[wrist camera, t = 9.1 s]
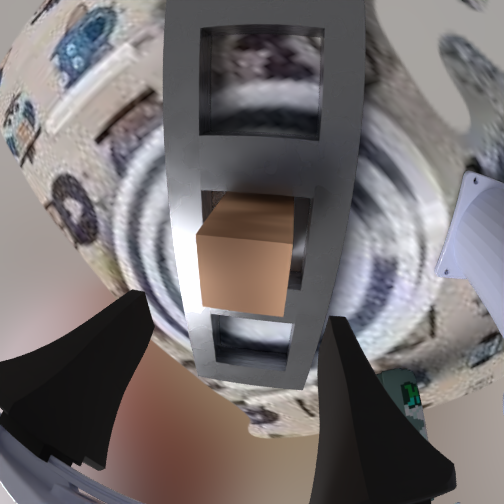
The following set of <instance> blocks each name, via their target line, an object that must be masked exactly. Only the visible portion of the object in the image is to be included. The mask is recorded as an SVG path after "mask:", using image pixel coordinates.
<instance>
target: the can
mask: <svg viewBox="0 0 504 504" xmlns="http://www.w3.org/2000/svg"><path fill="white" fill-rule="evenodd" d="M377 377H378V378H379V380H380V382H381V383H382V385H383V386H384V388H385V390H386V391H387V392H388V394H389V395H390V397H391V398H392V400H393V401H394V402H395V404H396V405H397V406H398V408H399V409H400V410H401V412H402V413H403V414H404V415H405V417H406V418H407V419H408V420H409V421H410V422H411V424H412V425H413V426H414V427H415V428H416V429H417V430H418V431H419V433H420V434H421V435H422V436H423V437H424V438H425V439H426V440H427V441H428V437H427V430H426V424H425V419H424V414H423V409H422V404H421V399H420V395H419V390H418V386H417V382H416V378H415V375H413V371H412V372H410V370H408V371H407V369H403V370H401V368H399V369H394V370H389V371H384V372H382V374H378V375H377ZM433 500H434V498H432V499H431V501H433Z"/></svg>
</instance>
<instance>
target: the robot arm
mask: <svg viewBox="0 0 504 504" xmlns="http://www.w3.org/2000/svg"><path fill="white" fill-rule="evenodd" d="M475 177H476V181H475V182H474V178H475ZM446 269H447V271H446V272H445V270H446ZM435 273H436V275H437V276H438V277H447V278H459V279H468V281H469V282H470V284H471V285H472V287H473V288H474V290H475V291H476V293H477V294H478V296H479V297H480V299H481V300H482V302H483V303H484V305H485V307H486V308H487V310H488V312H489V313H490V315H491V317H492V318H493V320H494V322H495V324H496V325H497V327H498V329H499V331H500V333H501V334H502V336H503V338H504V183H503V182H500V181H498V180H495V179H492V178H490V177H487V176H484V175H482V174H479V173H476V172H473V171H470V170H468V171H466V172H465V173H464V176H463V180H462V184H461V189H460V193H459V197H458V201H457V204H456V208H455V212H454V215H453V218H452V222H451V225H450V228H449V231H448V234H447V238H446V240H445V243H444V246H443V249H442V252H441V255H440V257H439V260H438V263H437V265H436V268H435ZM154 327H155V326H154V323H153V320H152V316H151V313H150V310H149V306H148V302H147V299H146V295H145V292H143V291H138V290H131V291H129V292H128V293H126V294H125V295H123V296H122V297H120V298H119V299H117V300H116V301H115V302H113V303H112V304H110V305H109V306H108V307H106V308H105V309H103V310H102V311H101V312H99V313H98V314H96V315H95V316H94V317H92V318H91V319H89V320H88V321H86V322H85V323H83V324H82V325H80V326H79V327H77V328H76V329H74V330H73V331H71V332H69V333H68V334H66V335H65V336H63V337H61V338H59V339H57V340H56V341H54V342H52V343H50V344H48V345H45V346H43V347H41V348H39V349H37V350H35V351H32V352H30V353H27V354H25V355H22V356H19V357H16V358H13V359H9V360H5V361H1V362H0V408H1V409H2V410H3V412H2V414H1V413H0V483H1V484H2V486H3V487H4V488H5V490H6V491H7V492H8V494H9V495H10V496H11V498H12V499H13V500H14V501H15V503H16V504H105V503H107V504H144V503H142V502H139V501H137V500H134V499H132V498H129V497H127V496H125V495H123V494H120V493H118V492H116V491H114V490H112V489H110V488H108V487H106V486H104V485H101V484H100V483H98V482H96V481H94V480H92V479H90V478H89V477H87V476H85V475H83V474H82V473H80V472H78V471H77V470H75V469H73V468H72V467H71V465H72V463H75V464H77V465H78V466H81V464H82V462H83V463H85V464H87V465H89V466H91V467H92V468H94V469H96V470H98V471H99V470H103V469H105V466H106V458H107V452H108V446H109V441H110V437H111V432H112V428H113V424H114V421H115V418H116V414H117V411H118V408H119V405H120V403H121V400H122V397H123V394H124V392H125V390H126V387H127V386H128V384H129V382H130V380H131V378H132V376H133V374H134V372H135V370H136V368H137V366H138V364H139V362H140V360H141V358H142V357H143V355H144V353H145V350H146V348H147V346H148V344H149V341H150V339H151V336H152V333H153V330H154ZM317 376H318V395H319V417H320V433H319V444H318V454H317V462H316V469H315V476H314V482H313V488H312V493H311V498H310V503H309V504H431V499H432V498H435V497H437V496H440V495H443V494H445V493H447V492H450V491H452V490H454V489H455V488H456V486H457V485H456V473H455V467H454V464H453V463H452V462H451V461H450V460H449V459H447V458H446V457H445V456H444V455H443V454H441V453H440V452H439V451H438V450H436V449H435V448H434V447H433V446H432V445H431V444H430V443H429V442H428V441H427V440H426V439H425V438H424V437H423V436H422V435H421V434H420V433H419V431H418V430H417V429H416V428H415V427H414V426H413V425H412V424H411V422H410V421H409V420H408V419H407V418H406V417H405V415H404V414H403V413H402V412H401V410H400V409H399V408H398V406H397V405H396V404H395V402H394V401H393V400H392V398H391V397H390V395H389V394H388V392H387V391H386V390H385V388H384V386H383V385H382V383H381V382H380V380H379V378H378V377H377V375H376V374H375V372H374V370H373V369H372V367H371V365H370V363H369V361H368V360H367V358H366V356H365V354H364V352H363V351H362V349H361V347H360V345H359V343H358V341H357V339H356V337H355V335H354V333H353V331H352V329H351V327H350V325H349V322H348V320H347V319H346V317H340V316H329V318H328V322H327V325H326V328H325V332H324V335H323V338H322V341H321V345H320V348H319V353H318V373H317ZM503 413H504V395H503ZM78 488H80V489H81V490H83V491H85V492H87V493H88V494H90V495H92V496H94V497H96V498H97V499H99V500H101V501H103V502H105V503H103V502H101V501H99V500H97V499H95V498H92V497H90V496H88V495H85V494H83V493H81V492H79V490H78ZM454 504H460V502H457V503H454Z"/></svg>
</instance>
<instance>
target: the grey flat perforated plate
mask: <svg viewBox="0 0 504 504" xmlns="http://www.w3.org/2000/svg"><path fill="white" fill-rule="evenodd" d="M234 34H286V35H301V36H312V37H321V60H320V87H319V106H318V122H317V135H316V137H312V136H302V135H291V134H278V133H260V132H210V89H211V44H212V36H219V35H234ZM364 82H365V5H364V0H167V2H166V14H165V29H164V49H163V122H164V145H165V162H166V175H167V187H168V198H169V208H170V217H171V226H172V234H173V242H174V249H175V257H176V264H177V270H178V277H179V283H180V289H181V295H182V301H183V306H184V312H185V317H186V322H187V327H188V332H189V337H190V342H191V347H192V351H193V356H194V360H195V365H196V369H197V373H198V376H201V377H206V378H211V379H217V380H223V381H229V382H235V383H242V384H249V385H256V386H264V387H273V388H283V389H295V390H303V388H304V385H305V382H306V379H307V376H308V373H309V370H310V367H311V364H312V361H313V358H314V355H315V352H316V348H317V345H318V342H319V338H320V335H321V332H322V328H323V325H324V321H325V318H326V314H327V310H328V307H329V303H330V299H331V295H332V291H333V287H334V283H335V279H336V275H337V270H338V266H339V262H340V257H341V253H342V248H343V243H344V238H345V233H346V228H347V223H348V217H349V212H350V206H351V200H352V194H353V188H354V181H355V175H356V167H357V160H358V152H359V143H360V134H361V124H362V113H363V99H364ZM212 191H228V192H245V193H259V194H272V195H284V196H294V197H305V198H311V199H310V208H309V216H308V224H307V232H306V240H305V247H304V254H303V261H302V268H301V272H295V271H290V272H289V280H288V287H287V294H286V301H285V308H284V315H283V317H279V316H270V315H261V314H253V313H245V312H238V311H230V310H223V309H216V308H210V307H203V306H202V298H201V289H200V280H199V270H198V259H197V247H196V233H197V232H198V230H199V229H200V228H201V226H202V225H203V223H204V222H205V221H206V219H207V218H208V216H209V215H210V214H211V212H212ZM219 315H224V316H231V317H239V318H247V319H255V320H263V321H272V322H282V323H292V329H291V335H290V340H289V345H288V350H287V354H286V353H276V352H267V351H259V350H251V349H243V348H236V347H229V346H223V345H221V339H220V327H219Z"/></svg>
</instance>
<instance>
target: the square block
mask: <svg viewBox="0 0 504 504" xmlns="http://www.w3.org/2000/svg"><path fill="white" fill-rule="evenodd" d="M293 230H294V196H284V195H272V194H259V193H245V192H228V191H227V192H226V193H225V195H224V196H223V197H222V199H221V200H220V201H219V203H218V204H217V205H216V207H215V208H214V210H213V211H212V212H211V214H210V215H209V216H208V218H207V219H206V221H205V222H204V223H203V225H202V226H201V228H200V229H199V230H198V232H197V233H196V247H197V259H198V270H199V280H200V289H201V298H202V306H203V307H210V308H216V309H223V310H230V311H238V312H245V313H253V314H261V315H270V316H279V317H283V315H284V308H285V301H286V294H287V287H288V280H289V272H290V264H291V256H292V248H293Z"/></svg>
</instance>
